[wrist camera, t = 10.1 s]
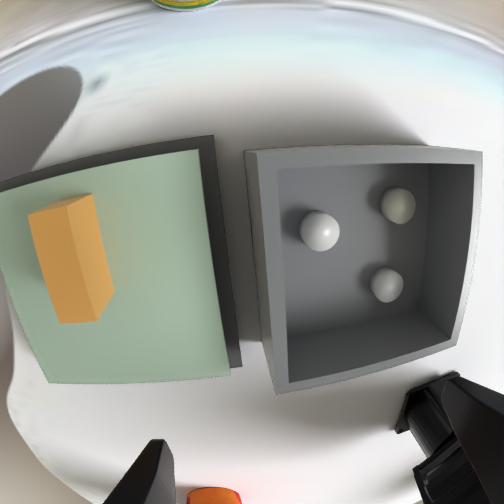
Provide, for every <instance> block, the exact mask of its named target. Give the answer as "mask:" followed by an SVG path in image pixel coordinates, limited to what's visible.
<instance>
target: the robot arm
mask: <svg viewBox="0 0 504 504" xmlns="http://www.w3.org/2000/svg"><path fill="white" fill-rule="evenodd" d="M408 430H410V431H411V433H412V434H413V436H414V437H415V439H416V441H417V442H418V444H419V445H420V447H421V449H422V450H423V452H424V453H425V455H426V457H427V459H426V460H425V461H423V462H422V463H421V464H419V465H417V466H415V467H414V468H413V472H414V478H415V480H416V483H417V486H418V488H419V491H420V494H421V497H422V499H423V504H504V395H503V394H501V393H498V392H496V391H493V390H491V389H489V388H486V387H484V386H481V385H479V384H477V383H474V382H472V381H469V380H467V379H465V378H462V377H460V374H459V373H458V372H455V373H452V374H450V375H447V376H445V377H443V378H440V379H438V380H435V381H433V382H430V383H428V384H425V385H422V386H420V387H417V388H414V389H412V390H410V391H409V392H408V393H407V395H406V398H405V402H404V405H403V408H402V411H401V414H400V417H399V420H398V423H397V426H396V429H395V432H396V433H397V434H400V433H403V432H405V431H408ZM103 504H176V493H175V476H174V458H173V454H172V452H171V450H170V448H169V446H168V444H167V442H166V441H165V440H164V439H152V440H150V441H149V443H148V444H147V445H146V447H145V448H144V450H143V451H142V452H141V454H140V455H139V456H138V458H137V459H136V460H135V462H134V463H133V464H132V466H131V467H130V468H129V470H128V471H127V472H126V474H125V475H124V476H123V478H122V479H121V480H120V482H119V483H118V484H117V486H116V487H115V488H114V490H113V491H112V492H111V493H110V495H109V496H108V497H107V499H106V500H105V501H104V503H103Z"/></svg>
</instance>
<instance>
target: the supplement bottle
mask: <svg viewBox="0 0 504 504" xmlns="http://www.w3.org/2000/svg"><path fill="white" fill-rule="evenodd" d="M152 1H153V2H154V3H155V4H157V5H158V6H160V7H163V8H166V9H170V10H175V11H185V12H189V11H197V10H202V9H205V8H208V7H211V6H213V5H215V4H217V3H219V2H221V1H222V0H152Z"/></svg>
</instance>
